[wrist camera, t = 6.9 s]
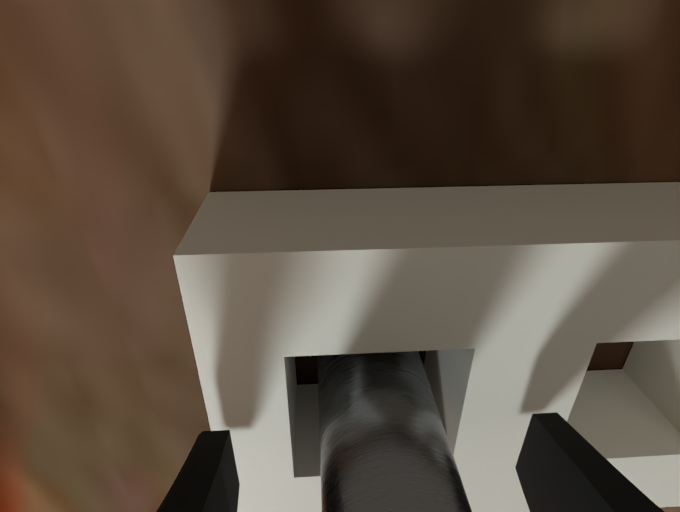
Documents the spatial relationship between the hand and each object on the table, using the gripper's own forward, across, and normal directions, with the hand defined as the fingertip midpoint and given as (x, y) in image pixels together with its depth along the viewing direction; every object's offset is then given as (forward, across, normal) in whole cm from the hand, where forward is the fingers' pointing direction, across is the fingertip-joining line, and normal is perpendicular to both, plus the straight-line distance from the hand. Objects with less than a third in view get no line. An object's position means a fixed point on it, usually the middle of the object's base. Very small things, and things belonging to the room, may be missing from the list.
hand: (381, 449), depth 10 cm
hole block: (+4, -4, 0) cm, 6 cm away
